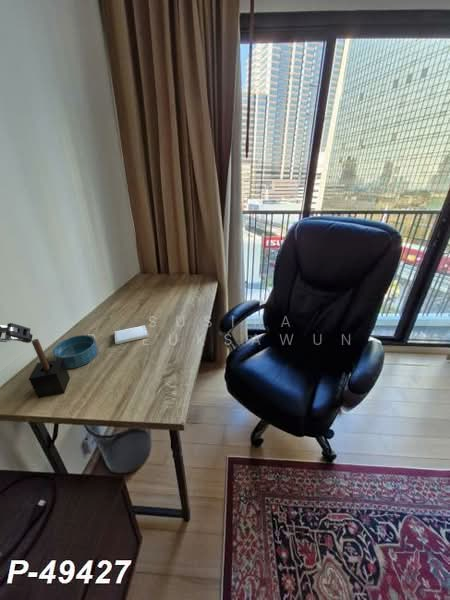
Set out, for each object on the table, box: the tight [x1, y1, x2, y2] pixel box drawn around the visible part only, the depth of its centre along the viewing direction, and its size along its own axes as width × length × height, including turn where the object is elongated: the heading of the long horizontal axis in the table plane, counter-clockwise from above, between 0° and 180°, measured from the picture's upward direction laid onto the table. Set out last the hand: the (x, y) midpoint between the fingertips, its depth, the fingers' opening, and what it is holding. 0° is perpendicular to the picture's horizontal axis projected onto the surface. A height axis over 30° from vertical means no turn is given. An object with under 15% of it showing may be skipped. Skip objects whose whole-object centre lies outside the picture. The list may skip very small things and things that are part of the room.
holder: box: [28, 359, 71, 399], centre depth 77 cm, size 7×7×8 cm
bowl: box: [52, 334, 99, 369], centre depth 90 cm, size 13×13×6 cm
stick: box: [31, 338, 50, 371], centre depth 75 cm, size 2×2×18 cm
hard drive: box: [114, 325, 149, 345], centre depth 104 cm, size 2×8×12 cm
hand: (11, 340), depth 62 cm, fingers open, 8 cm apart
